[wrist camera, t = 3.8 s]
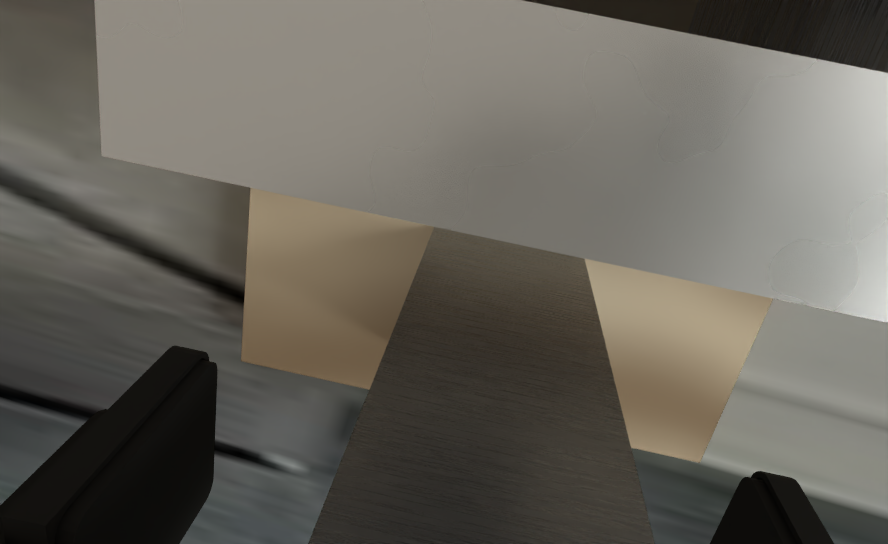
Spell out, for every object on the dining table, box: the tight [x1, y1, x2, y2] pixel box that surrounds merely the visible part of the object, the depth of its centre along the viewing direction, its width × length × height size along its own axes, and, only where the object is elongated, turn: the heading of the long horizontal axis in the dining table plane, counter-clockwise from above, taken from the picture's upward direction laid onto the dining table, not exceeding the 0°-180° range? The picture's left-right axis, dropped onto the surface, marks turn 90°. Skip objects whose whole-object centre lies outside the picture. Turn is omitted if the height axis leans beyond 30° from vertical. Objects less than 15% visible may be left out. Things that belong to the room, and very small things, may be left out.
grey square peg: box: [308, 227, 655, 544], centre depth 11 cm, size 4×4×14 cm
